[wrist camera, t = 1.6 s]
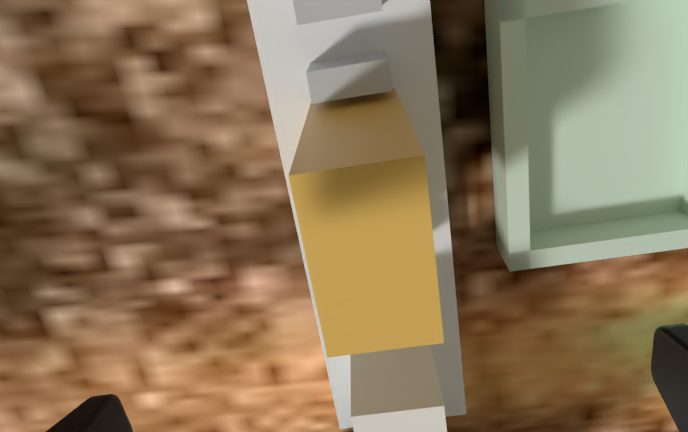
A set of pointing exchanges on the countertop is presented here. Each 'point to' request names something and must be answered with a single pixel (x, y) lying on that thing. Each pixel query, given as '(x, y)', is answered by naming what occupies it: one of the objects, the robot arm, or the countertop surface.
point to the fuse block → (351, 81)
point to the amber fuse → (367, 226)
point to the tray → (588, 128)
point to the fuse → (396, 391)
